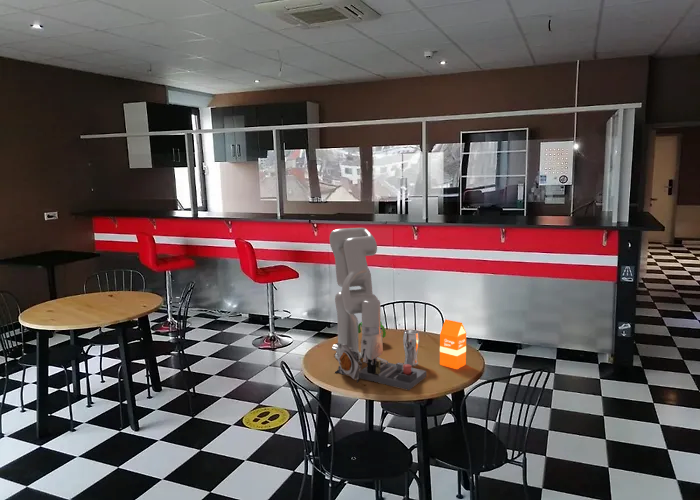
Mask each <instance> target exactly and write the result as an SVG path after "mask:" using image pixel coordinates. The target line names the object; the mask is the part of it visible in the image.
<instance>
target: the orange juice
mask: <svg viewBox="0 0 700 500" xmlns="http://www.w3.org/2000/svg"><path fill="white" fill-rule="evenodd" d="M443 321H444V322H443V325H442V327H441V330H440V333H439V365H440V366H443V367H447V368H451V369H454V370H459V369H460V368H462V367H464V366H466V364H467V363H466V362H467V360H466V359H467V332H466V329H465V327H464V324H463V323H462V322H459V321H455V320H451V319H446V318H445V319H444V320H443Z"/></svg>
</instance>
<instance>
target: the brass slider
mask: <svg viewBox="0 0 700 500" xmlns="http://www.w3.org/2000/svg"><path fill="white" fill-rule="evenodd" d="M380 362H381V360H378V359H377V362H376V363H375V364H376V373H375V374H380Z"/></svg>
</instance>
